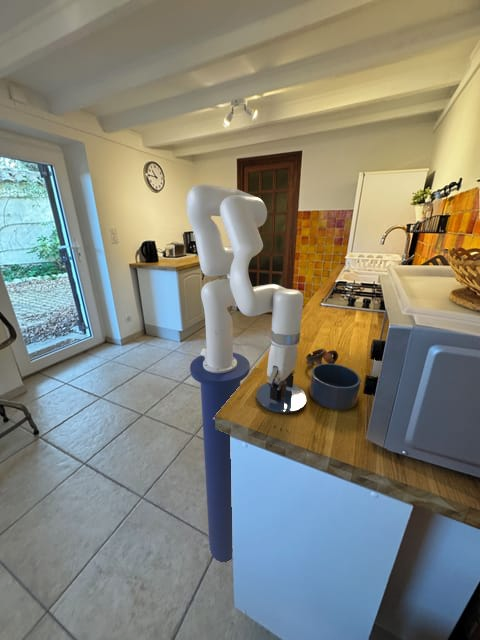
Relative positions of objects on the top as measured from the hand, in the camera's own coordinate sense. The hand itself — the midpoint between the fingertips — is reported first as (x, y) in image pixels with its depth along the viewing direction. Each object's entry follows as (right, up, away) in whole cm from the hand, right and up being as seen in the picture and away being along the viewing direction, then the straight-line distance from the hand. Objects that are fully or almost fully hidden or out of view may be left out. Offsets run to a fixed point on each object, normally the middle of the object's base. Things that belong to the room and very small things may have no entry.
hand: (281, 392), depth 73 cm
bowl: (+16, -1, +2) cm, 16 cm away
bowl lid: (0, -1, 0) cm, 2 cm away
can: (+33, 0, +6) cm, 33 cm away
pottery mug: (+18, +3, +17) cm, 25 cm away
